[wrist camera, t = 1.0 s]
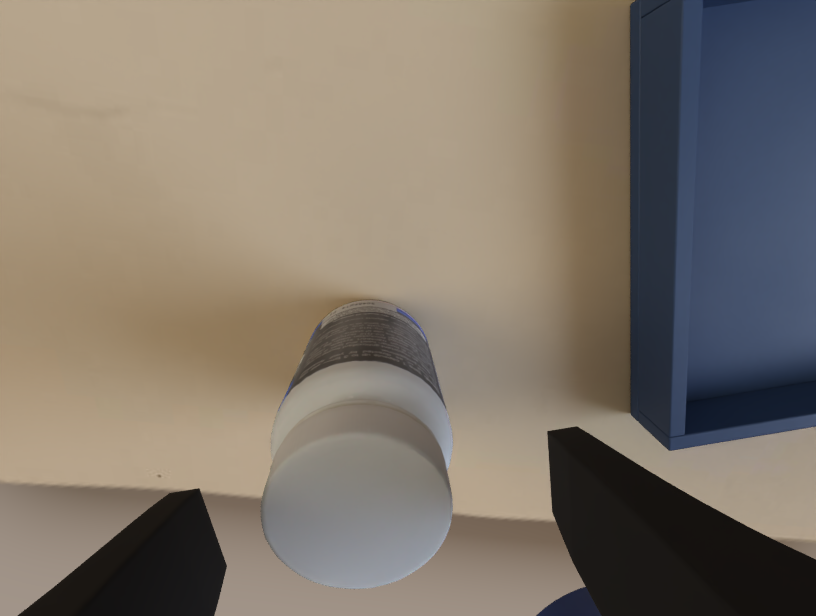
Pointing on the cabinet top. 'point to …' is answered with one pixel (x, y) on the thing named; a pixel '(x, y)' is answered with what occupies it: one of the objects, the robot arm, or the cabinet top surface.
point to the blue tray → (722, 218)
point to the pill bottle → (360, 453)
